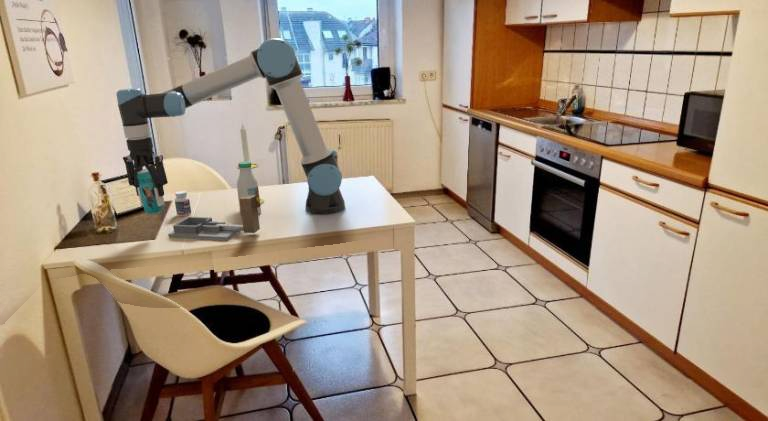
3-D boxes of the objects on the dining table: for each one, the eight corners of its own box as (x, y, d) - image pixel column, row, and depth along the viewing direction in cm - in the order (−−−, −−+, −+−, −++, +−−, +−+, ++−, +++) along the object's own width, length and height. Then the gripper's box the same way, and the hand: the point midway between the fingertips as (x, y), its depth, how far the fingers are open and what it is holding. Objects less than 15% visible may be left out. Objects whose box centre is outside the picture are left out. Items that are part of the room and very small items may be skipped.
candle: (268, 203, 204) (259, 123, 194) (244, 208, 199) (233, 126, 188) (259, 197, 212) (250, 120, 202) (236, 202, 207) (225, 123, 196)
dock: (244, 227, 177) (243, 217, 176) (227, 240, 166) (226, 229, 165) (188, 225, 182) (187, 215, 181) (168, 237, 171) (166, 226, 170)
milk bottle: (243, 218, 187) (236, 166, 181) (238, 212, 194) (231, 161, 187) (263, 214, 191) (257, 163, 184) (258, 209, 197) (252, 159, 191)
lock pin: (259, 228, 171) (255, 195, 168) (254, 233, 168) (250, 198, 164) (220, 226, 175) (215, 193, 171) (214, 231, 171) (208, 197, 167)
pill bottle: (186, 216, 191) (182, 194, 188) (174, 216, 192) (170, 194, 189) (194, 212, 196) (190, 190, 193) (182, 211, 197) (178, 190, 194)
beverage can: (145, 217, 168) (135, 173, 163) (145, 212, 173) (136, 170, 168) (163, 213, 170) (154, 171, 165) (163, 209, 175) (154, 167, 170)
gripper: (170, 134, 164) (183, 202, 172) (121, 135, 169) (136, 201, 176) (156, 139, 158) (170, 209, 165) (105, 140, 162) (121, 208, 169)
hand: (152, 204), depth 171 cm, fingers closed on beverage can, 6 cm apart
